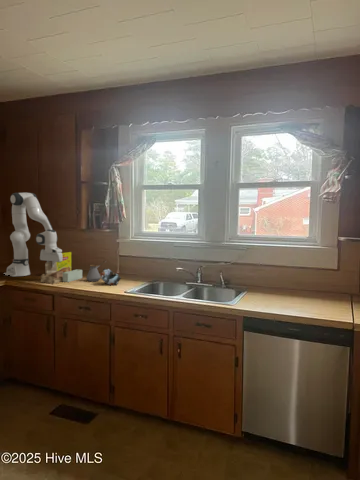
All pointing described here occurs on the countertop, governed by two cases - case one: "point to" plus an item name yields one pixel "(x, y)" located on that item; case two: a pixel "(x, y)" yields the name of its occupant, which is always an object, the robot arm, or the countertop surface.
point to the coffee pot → (94, 273)
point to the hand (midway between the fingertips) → (51, 266)
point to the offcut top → (57, 274)
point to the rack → (50, 279)
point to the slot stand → (72, 275)
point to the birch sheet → (50, 268)
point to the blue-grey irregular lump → (110, 277)
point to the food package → (65, 263)
